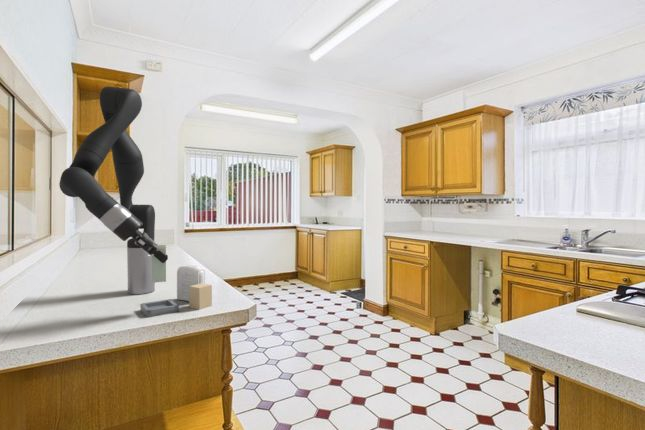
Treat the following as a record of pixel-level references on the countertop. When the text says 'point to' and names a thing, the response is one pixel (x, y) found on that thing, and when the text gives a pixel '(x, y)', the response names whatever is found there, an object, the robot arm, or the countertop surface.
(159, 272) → the tea tin
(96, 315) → the countertop surface
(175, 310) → the slate tray
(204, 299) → the kraft box
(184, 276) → the photo printer
